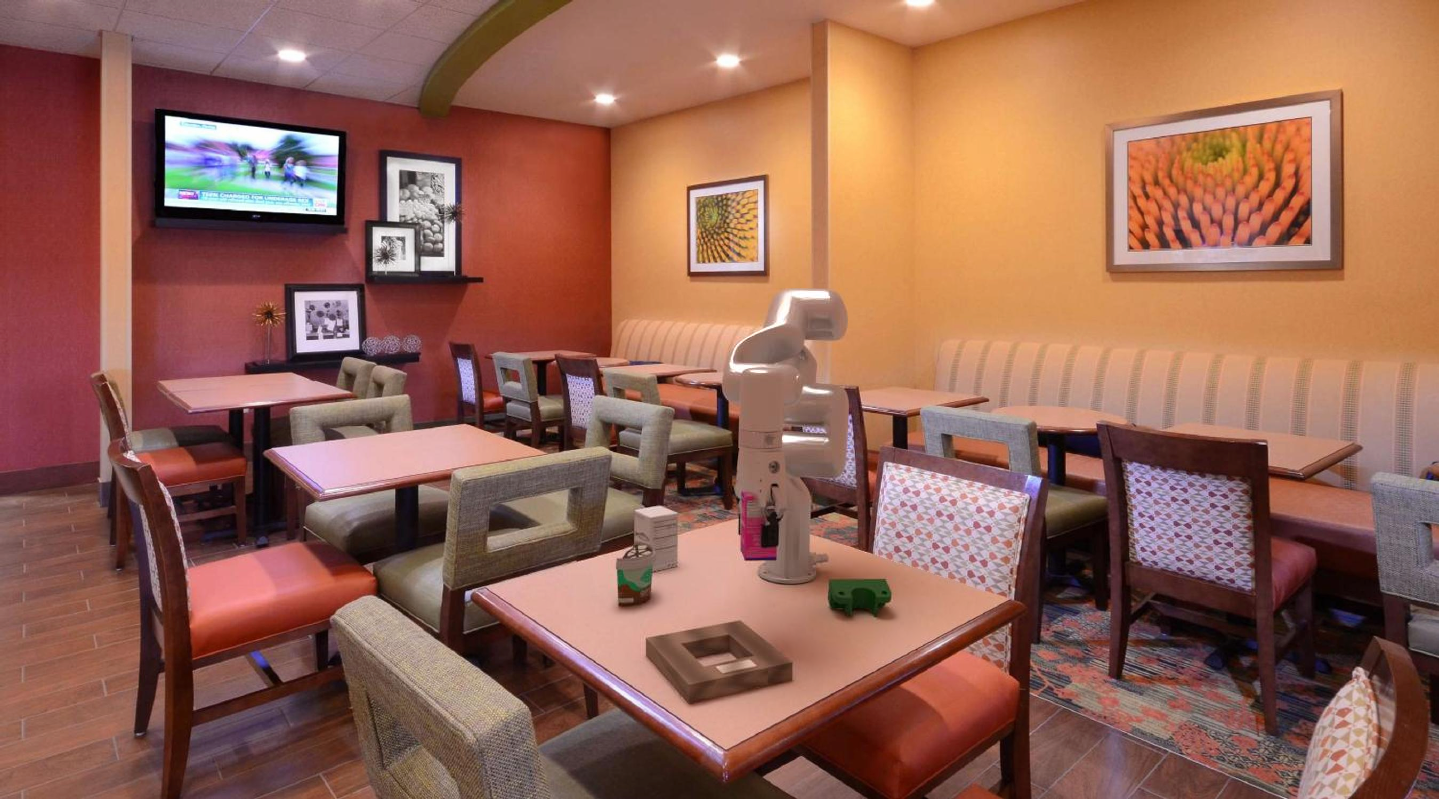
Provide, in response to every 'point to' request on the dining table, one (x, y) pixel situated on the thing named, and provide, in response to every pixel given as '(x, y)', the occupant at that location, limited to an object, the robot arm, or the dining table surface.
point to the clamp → (858, 594)
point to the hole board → (706, 682)
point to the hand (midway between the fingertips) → (757, 540)
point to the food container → (635, 574)
